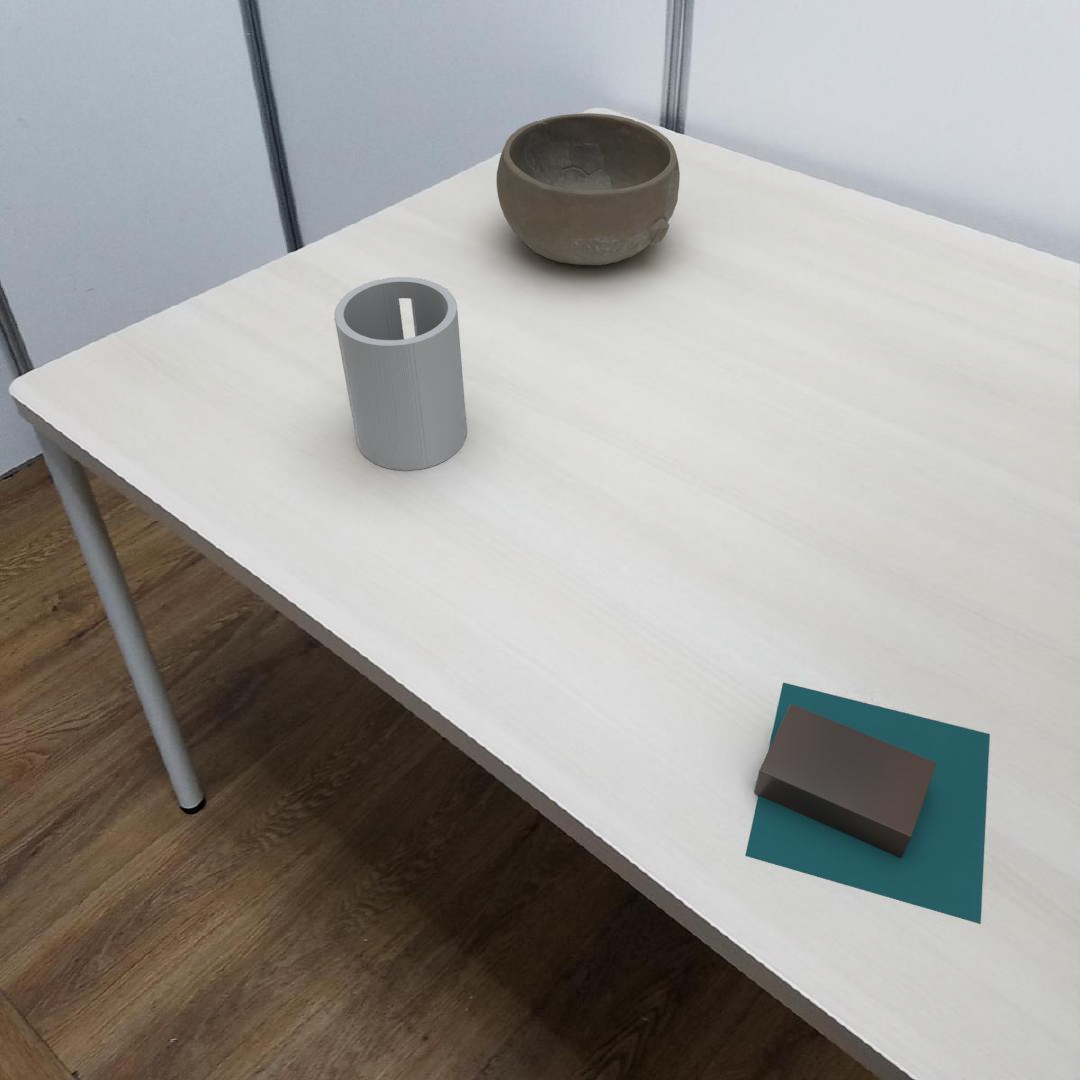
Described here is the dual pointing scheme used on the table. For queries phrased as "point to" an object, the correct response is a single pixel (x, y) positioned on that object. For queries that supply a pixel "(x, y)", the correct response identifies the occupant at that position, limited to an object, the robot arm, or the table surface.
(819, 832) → the mat
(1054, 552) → the table surface
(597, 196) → the bowl
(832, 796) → the walnut block
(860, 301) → the table surface
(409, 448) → the cup
